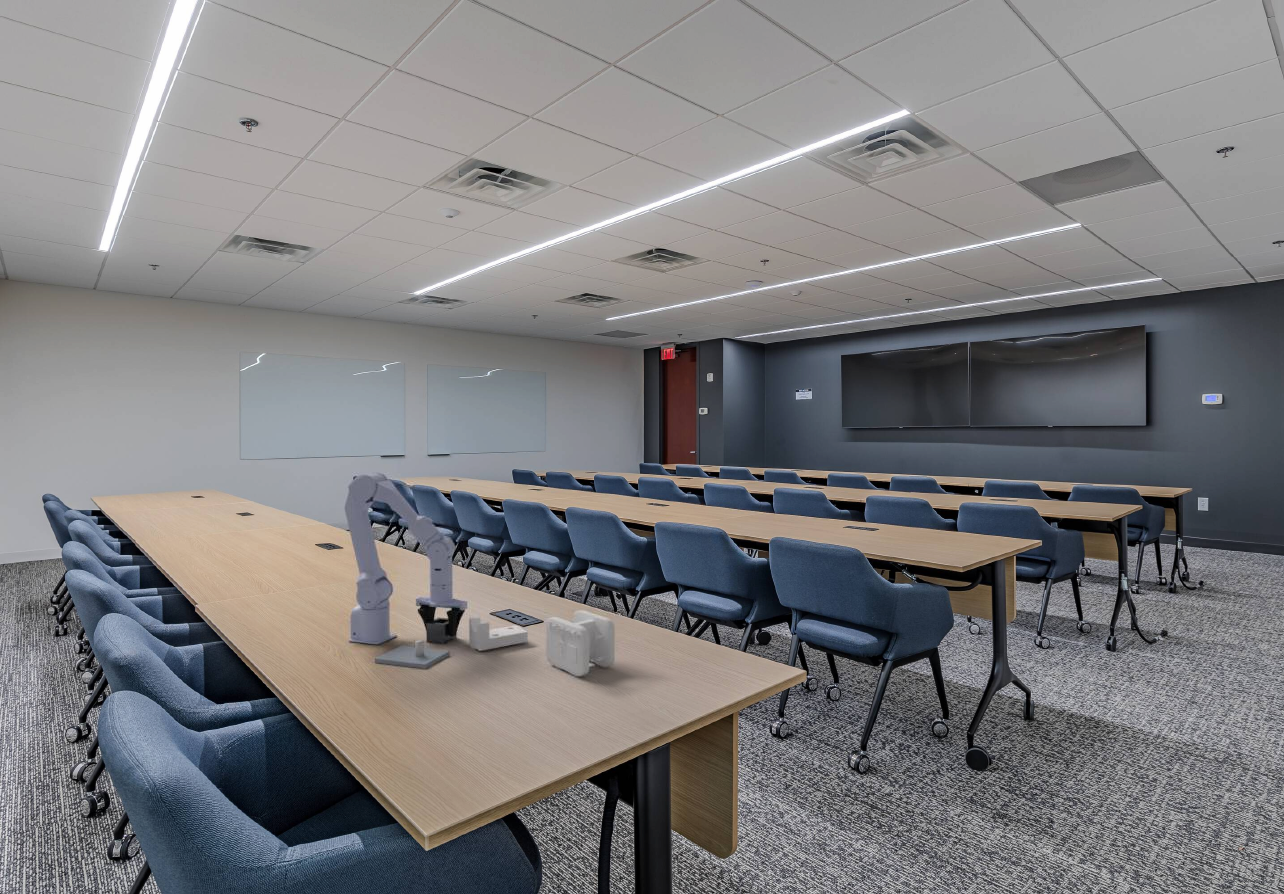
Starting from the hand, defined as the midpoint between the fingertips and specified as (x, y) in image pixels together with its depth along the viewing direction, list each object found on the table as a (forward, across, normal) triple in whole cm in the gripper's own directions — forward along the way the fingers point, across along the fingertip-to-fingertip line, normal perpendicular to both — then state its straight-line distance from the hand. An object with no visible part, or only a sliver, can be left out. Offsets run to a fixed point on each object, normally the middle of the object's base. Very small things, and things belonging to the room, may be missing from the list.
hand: (441, 634), depth 179 cm
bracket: (+2, +17, +1) cm, 17 cm away
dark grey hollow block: (+1, 0, 0) cm, 1 cm away
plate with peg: (+1, +2, -15) cm, 15 cm away
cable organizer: (+2, +43, -8) cm, 44 cm away
